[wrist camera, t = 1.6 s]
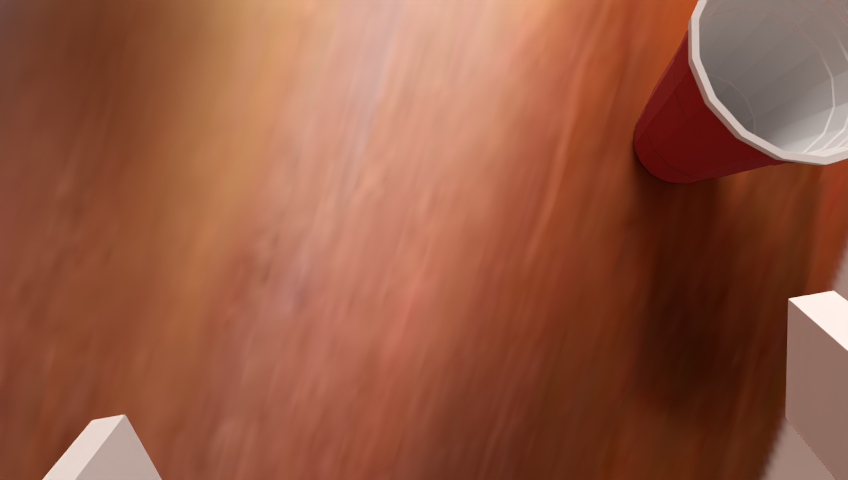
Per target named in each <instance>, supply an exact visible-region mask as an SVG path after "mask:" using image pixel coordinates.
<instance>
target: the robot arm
mask: <svg viewBox="0 0 848 480" xmlns="http://www.w3.org/2000/svg"><path fill="white" fill-rule="evenodd" d="M786 419H787V420H788V421H789V423H790V424H791V425H792V426H793V427H794V429H795V430H796V431H797V432H798V434H799V435H800V436H801V437H802V438H803V440H804V441H805V442H806V443H807V445H808V446H809V447H810V448H811V450H812V451H813V452H814V453H815V455H816V456H817V457H818V458H819V460H820V461H821V462H822V463H823V464H824V466H825V467H826V468H827V469H828V471H829V472H830V473H831V474H832V476H833V477H834V478H835V479H836V480H848V301H847V300H845V299H844V298H843V297H841V296H840V295H839V294H837V293H836V292H835V291H830V292H824V293H818V294H812V295H807V296H801V297H795V298H789V299H788V333H787V377H786ZM42 480H162V479H161V478H160V476H159V474H158V472H157V470H156V469H155V467H154V465H153V463H152V461H151V460H150V458H149V456H148V454H147V452H146V451H145V449H144V447H143V445H142V444H141V442H140V440H139V438H138V436H137V435H136V433H135V431H134V429H133V427H132V426H131V424H130V422H129V420H128V418H127V417H126V415H119V416H113V417H107V418H102V419H96V420H92V421H91V422H90V423H89V425H88V426H87V427H86V428H85V429H84V431H83V432H82V433H81V434H80V435H79V436H78V438H77V439H76V440H75V441H74V442H73V444H72V445H71V446H70V447H69V448H68V450H67V451H66V452H65V453H64V454H63V456H62V457H61V458H60V459H59V460H58V462H57V463H56V464H55V465H54V466H53V468H52V469H51V470H50V471H49V472H48V473H47V475H46V476H45V477H44V478H43V479H42Z"/></svg>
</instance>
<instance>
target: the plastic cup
mask: <svg viewBox="0 0 848 480" xmlns="http://www.w3.org/2000/svg"><path fill="white" fill-rule="evenodd" d="M634 149H635V152H636V154H637V157H638V159H639V162H640V163H641V164H642V165H643V166H644V167H645V168H646V169H647V170H648V172H649V173H650V174H651V175H653V176H655V177H657V178H659V179H661V180H663V181H665V182H671V183H681V184H683V183H686V184H689V183H693V182H697V181H701V180H704V179H714V178H719V177H723V176H727V175H731V174H735V173H739V172H743V171H747V170H751V169H756V168H760V167H764V166H768V165H779V164H783V163H796V162H798V163H806V164H813V165H827V164H830V163H833V162H837V161H840V160H843V159H847V158H848V0H699V1H698V3H697V5H696V7H695V9H694V11H693V14H692V16H691V18H690V20H689V22H688V30H687V32H686V34H685V36H684V38H683V40H682V43H681V45H680V46H679V48H678V50H677V51H676V53H675V55H674V56H673V58H672V60H671V61H670V63H669V65H668V66H667V68H666V70H665V71H664V73H663V75H662V76H661V78H660V80H659V81H658V83H657V85H656V86H655V88H654V90H653V92H652V94H651V96H650V98H649V100H648V103H647V104H646V106H645V108H644V109H643V111H642V113H641V115H640V117H639V119H638V121H637V124H636V126H635V130H634Z"/></svg>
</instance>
